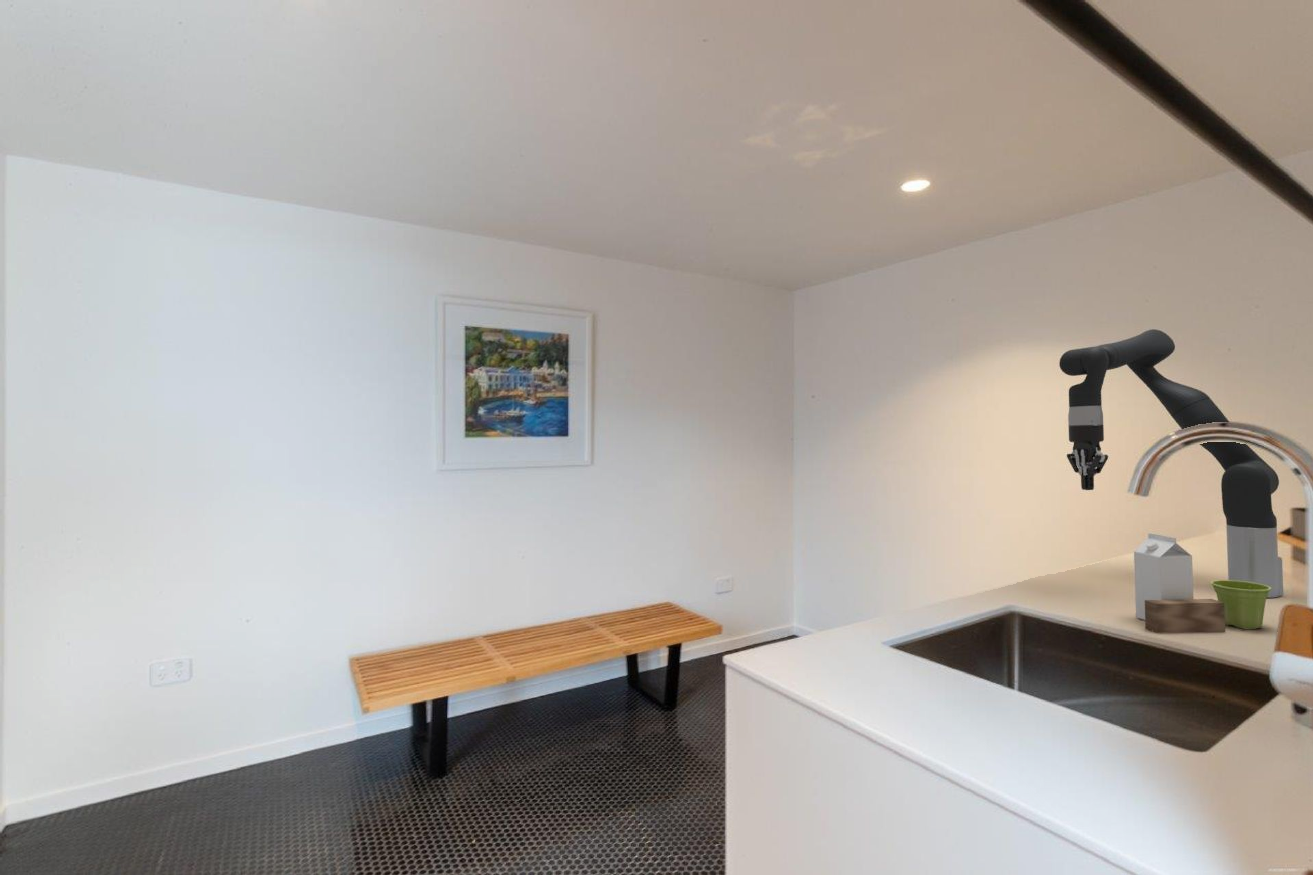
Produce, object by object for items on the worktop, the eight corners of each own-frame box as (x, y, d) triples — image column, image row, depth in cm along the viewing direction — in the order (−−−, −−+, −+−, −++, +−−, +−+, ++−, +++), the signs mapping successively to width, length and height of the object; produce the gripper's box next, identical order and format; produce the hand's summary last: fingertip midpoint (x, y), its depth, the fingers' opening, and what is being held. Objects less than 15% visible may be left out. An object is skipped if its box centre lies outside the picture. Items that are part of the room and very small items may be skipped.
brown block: (1210, 626, 130) (1209, 598, 130) (1225, 631, 126) (1224, 602, 127) (1144, 627, 130) (1143, 599, 130) (1156, 632, 127) (1155, 603, 127)
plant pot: (1220, 628, 128) (1219, 587, 128) (1205, 616, 137) (1204, 578, 137) (1280, 634, 124) (1279, 591, 124) (1261, 621, 132) (1260, 581, 132)
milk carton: (1166, 616, 138) (1163, 532, 138) (1194, 626, 131) (1192, 537, 131) (1135, 617, 138) (1132, 533, 138) (1162, 626, 130) (1159, 538, 131)
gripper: (1055, 425, 167) (1057, 488, 167) (1088, 423, 153) (1090, 492, 153) (1083, 424, 167) (1084, 487, 166) (1118, 422, 153) (1120, 491, 153)
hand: (1087, 489), depth 160 cm, fingers closed
